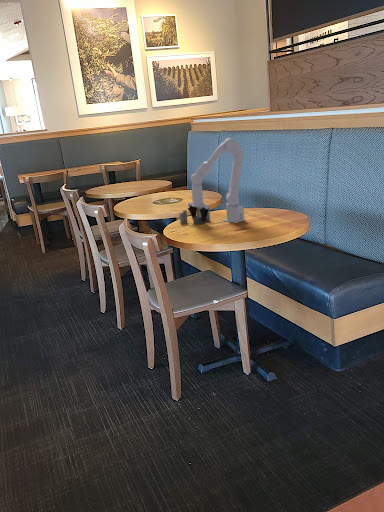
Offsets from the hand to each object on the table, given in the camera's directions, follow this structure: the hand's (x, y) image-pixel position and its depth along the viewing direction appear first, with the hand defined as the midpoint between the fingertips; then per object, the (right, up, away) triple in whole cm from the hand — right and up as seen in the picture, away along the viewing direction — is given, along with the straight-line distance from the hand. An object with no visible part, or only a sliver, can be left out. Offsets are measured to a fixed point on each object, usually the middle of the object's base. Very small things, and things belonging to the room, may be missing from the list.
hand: (199, 220), depth 246 cm
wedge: (+1, -1, +2) cm, 2 cm away
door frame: (-3, +1, +8) cm, 9 cm away
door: (+3, +1, +6) cm, 6 cm away
